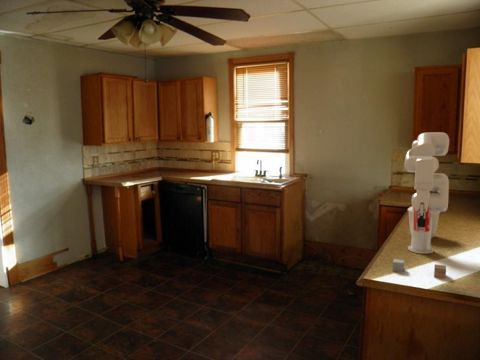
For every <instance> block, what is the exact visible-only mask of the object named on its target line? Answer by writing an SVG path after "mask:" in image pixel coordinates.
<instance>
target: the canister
mask: <svg viewBox="0 0 480 360" xmlns="http://www.w3.org/2000/svg"><path fill="white" fill-rule="evenodd" d="M407 211H408V220H409V221H408V222H409V232H410V235H411V236H412V216H413V212H412V206H409V207H408V208H407ZM440 213H441V212H437V211H431V219H432V228H431V239H433V238H434V237H435V235H436V232H437V228H438V222H439V218H440V217H439V216H440Z"/></svg>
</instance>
